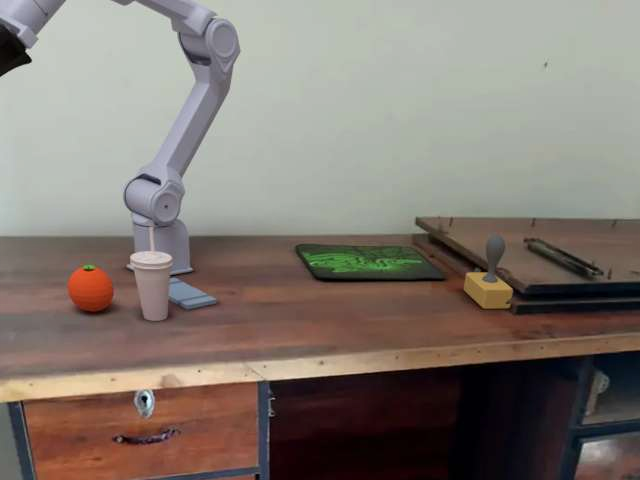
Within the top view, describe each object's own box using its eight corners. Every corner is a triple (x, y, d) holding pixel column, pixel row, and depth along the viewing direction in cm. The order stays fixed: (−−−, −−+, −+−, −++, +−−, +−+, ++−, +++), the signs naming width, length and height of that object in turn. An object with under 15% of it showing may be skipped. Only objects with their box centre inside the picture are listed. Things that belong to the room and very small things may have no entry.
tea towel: (175, 281, 140) (174, 277, 140) (217, 303, 133) (217, 298, 132) (145, 287, 136) (145, 282, 136) (187, 309, 129) (186, 305, 129)
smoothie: (183, 314, 127) (179, 227, 119) (161, 326, 122) (155, 236, 114) (149, 307, 129) (142, 220, 121) (126, 318, 123) (118, 229, 116)
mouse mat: (412, 248, 172) (413, 243, 171) (449, 280, 154) (450, 275, 154) (292, 248, 163) (292, 243, 163) (316, 282, 146) (317, 276, 146)
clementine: (72, 300, 128) (66, 257, 124) (116, 300, 130) (112, 258, 126) (69, 318, 122) (63, 273, 118) (115, 317, 123) (110, 273, 120)
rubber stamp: (510, 308, 144) (523, 243, 137) (482, 309, 142) (493, 243, 136) (489, 290, 152) (500, 228, 145) (462, 290, 150) (472, 227, 144)
